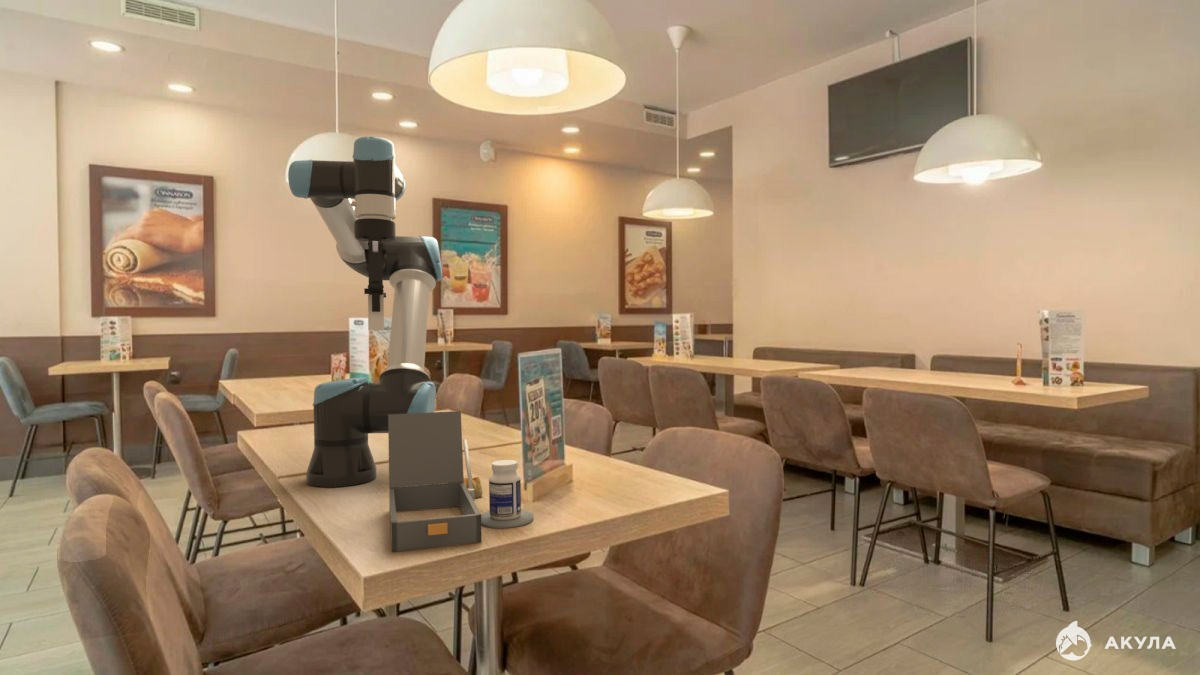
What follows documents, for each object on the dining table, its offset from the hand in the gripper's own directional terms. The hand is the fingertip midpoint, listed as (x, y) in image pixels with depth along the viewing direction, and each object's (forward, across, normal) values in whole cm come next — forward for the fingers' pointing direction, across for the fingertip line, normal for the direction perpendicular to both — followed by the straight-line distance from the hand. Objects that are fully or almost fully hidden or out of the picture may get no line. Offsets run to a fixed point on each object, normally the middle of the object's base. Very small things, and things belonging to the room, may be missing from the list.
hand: (376, 330), depth 128 cm
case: (+35, +13, +9) cm, 38 cm away
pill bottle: (+34, +16, +22) cm, 44 cm away
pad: (+35, +16, +22) cm, 44 cm away
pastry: (+35, -4, +17) cm, 39 cm away
